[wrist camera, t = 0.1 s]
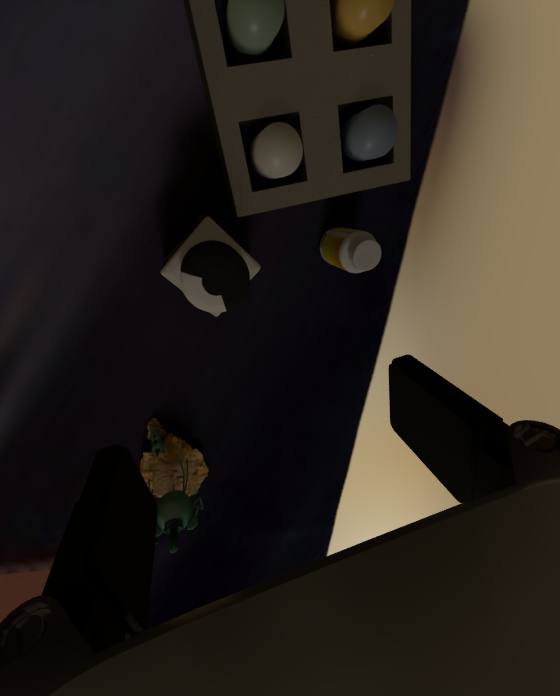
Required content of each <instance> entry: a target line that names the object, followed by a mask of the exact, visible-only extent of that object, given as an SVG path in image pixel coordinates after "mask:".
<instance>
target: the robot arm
mask: <svg viewBox="0 0 560 696" xmlns="http://www.w3.org/2000/svg"><path fill="white" fill-rule="evenodd" d="M389 397H390V398H389V399H390V423H391V426H392V428H393V430H394V431H395V432H396V433H397V434H398V435H399V437H400V438H401V439H402V440H403V441H404V442H405V443H406V444H407V445H408V446H409V447H410V449H411V450H412V451H413V452H414V453H415V454H416V455H417V456H418V458H419V459H420V460H421V461H422V462H423V463H424V464H425V465H426V466H427V468H428V469H429V470H430V471H431V472H432V473H433V474H434V475H435V476H436V478H438V480H439V481H440V482H441V483H442V484H443V485H444V486H445V487H446V488H447V490H448V491H449V492H450V493H451V494H452V495H453V496H454V498H455V499H456V500H457V501H459V502H460V503H462V504H459V505H457V506H454V507H451V508H449V509H446V510H444V511H441V512H439V513H436V514H434V515H431V516H428V517H426V518H423V519H421V520H418V521H416V522H413V523H411V524H408V525H406V526H403V527H400V528H398V529H395V530H393V531H390V532H387V533H385V534H383V535H380V536H377V537H375V538H372V539H370V540H367V541H365V542H362V543H360V544H357V545H355V546H352V547H350V548H347V549H344V550H342V551H339V552H337V553H334V554H332V555H330V556H327V557H324V558H322V559H319V560H317V561H314V562H312V563H309V564H307V565H304V566H302V567H299V568H297V569H294V570H292V571H289V572H287V573H284V574H282V575H279V576H277V577H274V578H272V579H269V580H267V581H264V582H262V583H259V584H257V585H254V586H252V587H249V588H247V589H245V590H242V591H240V592H237V593H235V594H232V595H230V596H227V597H225V598H222V599H220V600H217V601H215V602H212V603H210V604H207V605H205V606H202V607H200V608H197V609H195V610H193V611H190V612H188V613H186V614H183V615H181V616H179V617H176V618H174V619H172V620H169V621H167V622H164V623H162V624H160V625H157V626H155V627H153V628H150V629H148V630H146V631H143V630H145V629H146V627H147V622H148V612H149V602H150V591H151V580H152V569H153V558H154V547H155V536H156V525H157V514H158V509H157V503H156V501H155V499H154V497H153V495H152V493H151V491H150V489H149V487H148V486H147V484H146V482H145V480H144V478H143V476H142V474H141V472H140V471H139V469H138V467H137V465H136V463H135V461H134V459H133V457H132V456H131V454H130V452H129V450H128V448H127V447H125V446H124V447H121V446H120V445H119V444H115V445H112V446H109V447H106V448H102V449H99V450H98V451H97V453H96V456H95V458H94V461H93V464H92V467H91V470H90V473H89V475H88V478H87V481H86V484H85V487H84V489H83V492H82V495H81V498H80V500H79V501H78V502H77V503H76V504H75V506H74V508H73V511H72V513H71V516H70V519H69V522H68V524H67V527H66V530H65V533H64V535H63V538H62V541H61V544H60V546H59V549H58V552H57V554H56V557H55V560H54V563H53V565H52V568H51V571H50V574H49V577H48V579H47V582H46V585H45V587H44V590H43V593H42V595H41V596H38V597H34V598H32V599H30V600H28V601H26V602H24V603H22V604H21V605H20V606H19V607H17V608H16V609H15V610H13V611H12V612H11V613H10V614H9V615H8V616H7V617H6V618H5V619H4V620H3V621H2V622H1V623H0V696H560V429H558V428H556V427H554V426H552V425H549V424H546V423H543V422H538V421H531V420H523V421H517V422H515V423H513V424H511V425H510V426H508V425H507V424H506V423H504V422H503V419H502V418H501V417H499V416H498V415H496V414H495V413H494V412H492V411H491V410H489V409H488V408H486V407H485V406H483V405H482V404H480V403H479V402H478V401H476V400H475V399H473V398H472V397H470V396H469V395H468V394H466V393H465V392H463V391H462V390H460V389H459V388H457V387H456V386H455V385H453V384H452V383H450V382H449V381H447V380H446V379H444V378H443V377H442V376H440V375H439V374H437V373H436V372H434V371H433V370H431V369H430V368H428V367H427V366H426V365H424V364H423V363H421V362H420V361H418V360H417V359H415V358H414V357H413V356H411V355H404V356H401V357H398V358H395V359H393V361H392V364H390V365H389ZM141 631H143V632H141Z"/></svg>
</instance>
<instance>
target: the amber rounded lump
mask: <svg viewBox="0 0 560 696" xmlns="http://www.w3.org/2000/svg"><path fill="white" fill-rule="evenodd" d="M394 2H395V0H332V1H331V4H330V15H331V27H332V30H333V33H334V35H335V36H336V38H337V39H338V40H339V41H340V42H342V43H343V44H345V45H350V46H351V45H356V44H358V43H360V42H361V41H362V40H363V39H365V38H366V37H367V36H368V35H369V34H370V33H371V32H372V31H373V30H375V29H376V28H377V27H378V26H379V25H380V24H381V23H382V22H384V21H385V20H386V18H387V17H388V16H389V14H390V13H391V11H392V8H393V6H394Z"/></svg>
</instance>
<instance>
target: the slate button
mask: <svg viewBox="0 0 560 696" xmlns="http://www.w3.org/2000/svg"><path fill="white" fill-rule="evenodd" d="M397 129H398V127H397V120H396V117H395V115H394V113H393V112H392V110H391V109H390V108H388V107H387V106H385V105H381V104H378V105H373V106H371V107H369V108H367V109H365V110H363V111H361V112H359V113H357V114H355V115H353V116H351V117H350V118H349V119H347V120H346V122H345V123H344V125H343V126H342V129H341V132H340V140H341V150H342V152H343V154H344V156H345V157H346V158H347V159H349V160H350V161H353V162H360V161H365V160H370V159H374V158H379V157H382V156H384V155H385V154H387V153H388V152H389V151H390V150H391V148H392V147H393V145H394V143H395V140H396V137H397Z"/></svg>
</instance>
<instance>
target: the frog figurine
mask: <svg viewBox="0 0 560 696" xmlns="http://www.w3.org/2000/svg"><path fill="white" fill-rule="evenodd" d="M147 429H148V436H147V438H148V439H150V440H152V442H151V444H153V445H152V451H151V452H149V453H148V452H144V453H143V458H142V459H141V467H140V468H141V471H140V472H141V474H142V476H143V478H144V480H145V482H146V484H147V486H148V487H149V489H150V491H151V493H152V495H155V494H156V497H159V498H161V499H160V500H159V502H158V503H157V509H158V514H157V525H156V537H157V536H159V535H161V533H162V532H163V531H164V534H166V533H170V549H169V551H170V552H171V553H175V552H176V551H177V550H178V532H180V531H181V530H183V529H184V527H185V526H186V525H187V529H189V530H191V531H188V535H193V534H195V533H196V532H197V530H198V529H199V524H198V525H197V522H198V519H197V518H196V515H197V511H198V508H199V506H194V505H195V504H196V502H197V501H198V500H199V499H200V503H201V509H203V507H204V505H203V503H202V501H201V497H199V498H198V499H197V500H196V501H195V503H194V504H193V505H192V500H191V499H190V496H191V495H194V494H196V493H197V490H198V488H200V483H202V482H203V480H204V478H205V477H207V476H208V474H207V472H208V468H207V466H206V465H205V462H204V458H203V454H202V453H201V452H199V451H198V449H193V448H191V446H190V445H188V444H187V443H185V441H184V440H183V441H182V440H181V439H180V438H177V437H176V436H173V434H172V433H171V434H167V432H166V431H165V430H164V429H163V427H162V425H160V423H159V422H158V421H157V419H155V418H152V419H151V421H150V422H149V424H148V426H147ZM151 444H150V445H151ZM192 447H193V446H192ZM192 449H193V450H192ZM193 506H194V507H193ZM193 508H197V510H196V514H195V517H192V514H193ZM196 525H197V526H196ZM195 527H196V528H195ZM193 528H195V529H193ZM192 529H193V530H192ZM159 542H160V538H158V539H156V540H155V544H157V543H159Z"/></svg>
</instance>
